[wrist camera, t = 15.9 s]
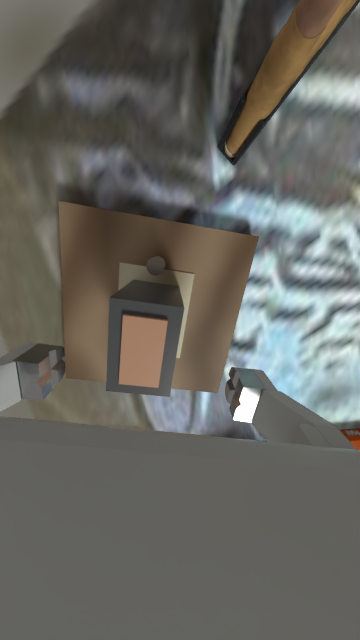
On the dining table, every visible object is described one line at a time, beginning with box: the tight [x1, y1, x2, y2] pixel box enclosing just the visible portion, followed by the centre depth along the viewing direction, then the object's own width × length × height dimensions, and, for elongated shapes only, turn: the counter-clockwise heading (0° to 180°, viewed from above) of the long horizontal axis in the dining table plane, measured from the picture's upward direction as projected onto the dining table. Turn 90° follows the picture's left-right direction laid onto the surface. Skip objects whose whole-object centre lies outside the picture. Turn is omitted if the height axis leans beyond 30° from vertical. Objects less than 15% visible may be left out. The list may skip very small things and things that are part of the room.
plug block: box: [106, 280, 184, 397], centre depth 15 cm, size 4×6×7 cm, turn 171°
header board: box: [58, 201, 259, 393], centre depth 17 cm, size 16×16×5 cm
